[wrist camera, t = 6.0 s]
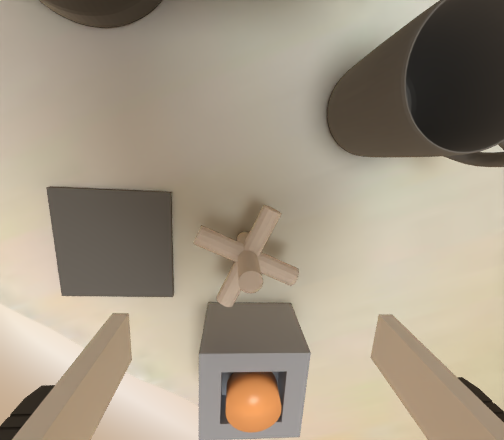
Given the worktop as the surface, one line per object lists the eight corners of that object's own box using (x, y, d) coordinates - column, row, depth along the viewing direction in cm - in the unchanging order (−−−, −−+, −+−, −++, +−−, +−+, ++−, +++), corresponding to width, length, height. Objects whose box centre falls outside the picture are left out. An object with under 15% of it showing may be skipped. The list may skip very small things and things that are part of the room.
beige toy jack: (304, 219, 28) (342, 251, 18) (264, 292, 30) (278, 356, 20) (223, 179, 26) (216, 191, 16) (185, 259, 28) (160, 312, 18)
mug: (307, 123, 25) (368, 94, 14) (363, 41, 24) (485, -70, 12) (401, 196, 28) (519, 223, 16) (457, 126, 27) (631, 101, 15)
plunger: (227, 365, 24) (226, 388, 21) (278, 364, 24) (283, 387, 22) (225, 406, 25) (224, 433, 23) (274, 405, 25) (279, 431, 23)
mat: (50, 186, 25) (46, 187, 25) (171, 192, 26) (170, 192, 26) (64, 293, 28) (61, 295, 27) (173, 294, 29) (172, 297, 28)
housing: (208, 302, 29) (199, 353, 22) (291, 303, 30) (310, 352, 23) (207, 372, 32) (198, 440, 24) (284, 370, 33) (299, 437, 25)
